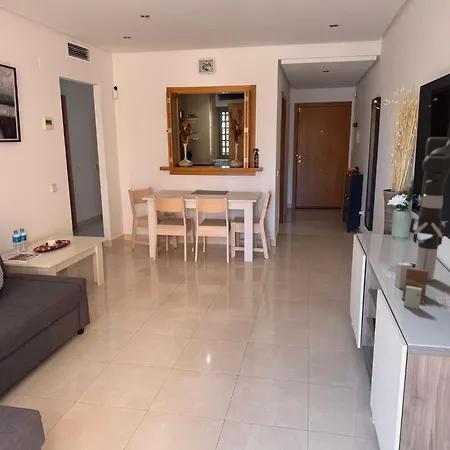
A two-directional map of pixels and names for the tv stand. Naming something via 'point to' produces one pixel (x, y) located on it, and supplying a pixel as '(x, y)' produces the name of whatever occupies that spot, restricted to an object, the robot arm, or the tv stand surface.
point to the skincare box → (401, 274)
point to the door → (412, 297)
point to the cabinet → (416, 281)
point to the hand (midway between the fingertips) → (426, 244)
